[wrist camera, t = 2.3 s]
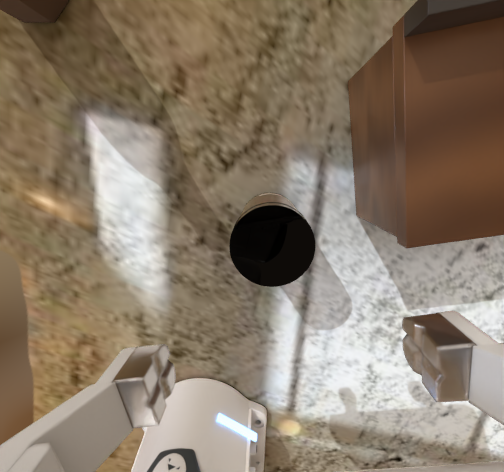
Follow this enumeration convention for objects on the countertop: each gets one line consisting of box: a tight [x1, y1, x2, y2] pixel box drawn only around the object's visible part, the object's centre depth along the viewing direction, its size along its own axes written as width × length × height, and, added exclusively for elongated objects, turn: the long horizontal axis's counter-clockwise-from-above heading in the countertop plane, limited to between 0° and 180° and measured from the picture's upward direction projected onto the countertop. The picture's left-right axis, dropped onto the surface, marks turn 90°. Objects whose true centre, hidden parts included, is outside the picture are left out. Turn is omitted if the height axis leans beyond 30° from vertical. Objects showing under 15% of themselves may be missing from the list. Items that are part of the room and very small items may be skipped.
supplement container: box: [230, 193, 315, 287], centre depth 25 cm, size 7×7×10 cm
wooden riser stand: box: [348, 0, 504, 248], centre depth 20 cm, size 15×18×13 cm
